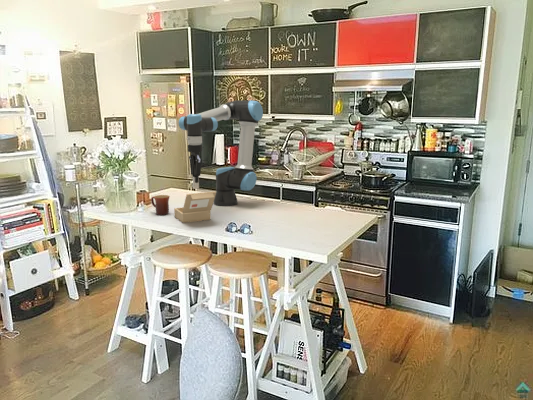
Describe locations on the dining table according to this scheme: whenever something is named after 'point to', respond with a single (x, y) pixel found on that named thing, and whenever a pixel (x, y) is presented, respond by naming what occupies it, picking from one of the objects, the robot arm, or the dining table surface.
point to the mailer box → (191, 215)
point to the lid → (199, 202)
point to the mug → (161, 204)
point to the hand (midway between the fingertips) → (196, 188)
